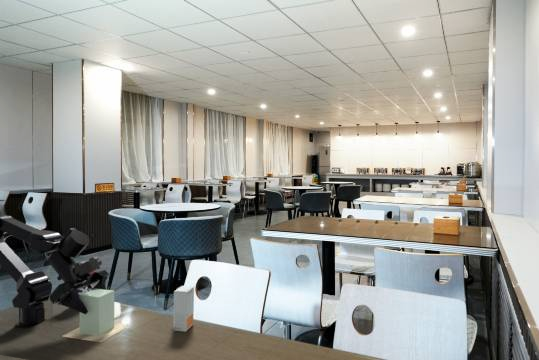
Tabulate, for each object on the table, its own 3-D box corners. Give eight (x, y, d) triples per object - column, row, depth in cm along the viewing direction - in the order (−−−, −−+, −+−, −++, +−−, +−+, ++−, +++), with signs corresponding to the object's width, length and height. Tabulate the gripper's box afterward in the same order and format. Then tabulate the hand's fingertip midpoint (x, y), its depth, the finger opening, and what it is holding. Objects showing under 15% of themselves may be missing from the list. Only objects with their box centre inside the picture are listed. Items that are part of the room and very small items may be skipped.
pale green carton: (79, 333, 116) (79, 295, 115) (95, 324, 122) (95, 288, 122) (99, 336, 114) (99, 297, 114) (114, 327, 120) (114, 290, 120)
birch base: (61, 339, 114) (61, 318, 113) (93, 323, 126) (93, 303, 126) (101, 345, 110) (101, 324, 110) (130, 328, 123) (130, 308, 122)
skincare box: (186, 332, 120) (186, 292, 120) (172, 330, 121) (173, 291, 121) (194, 324, 126) (194, 286, 126) (181, 323, 127) (181, 285, 127)
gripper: (57, 255, 110) (92, 300, 107) (103, 243, 128) (134, 281, 125) (34, 282, 112) (67, 326, 109) (82, 266, 130) (112, 304, 127)
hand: (98, 307), depth 118 cm, fingers open, 9 cm apart
